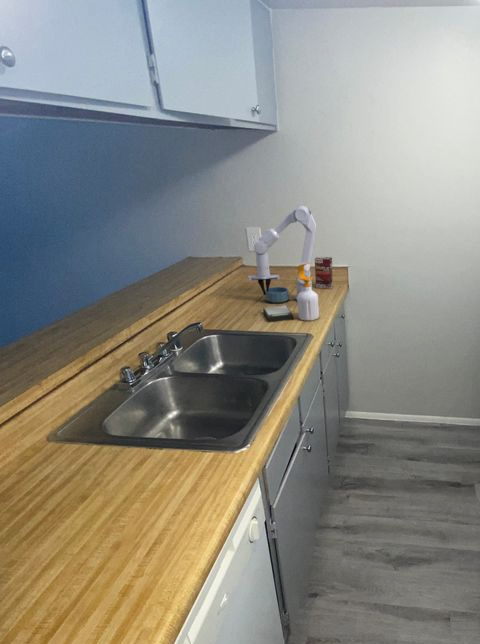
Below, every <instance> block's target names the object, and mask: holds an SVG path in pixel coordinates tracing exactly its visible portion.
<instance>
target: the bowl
mask: <svg viewBox="0 0 480 644" xmlns="http://www.w3.org/2000/svg"><path fill="white" fill-rule="evenodd" d="M264 296H265V297H264V298H265V301H266V302H268V303H273V304H281V303H285V302H287V301H289V299H290V289H289V288H287V287H284V286H271V287H269V289H268V292H267V291H266V289H265V295H264Z"/></svg>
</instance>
